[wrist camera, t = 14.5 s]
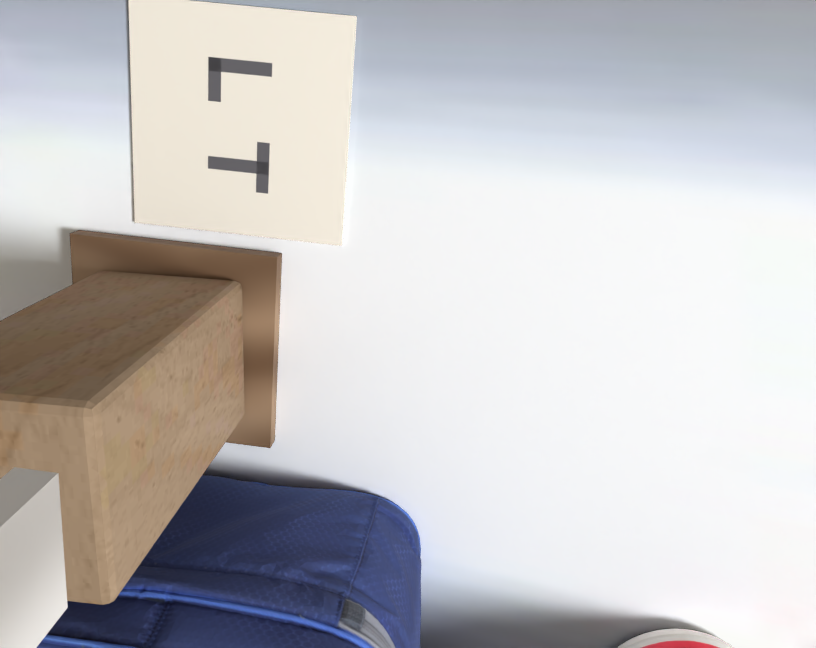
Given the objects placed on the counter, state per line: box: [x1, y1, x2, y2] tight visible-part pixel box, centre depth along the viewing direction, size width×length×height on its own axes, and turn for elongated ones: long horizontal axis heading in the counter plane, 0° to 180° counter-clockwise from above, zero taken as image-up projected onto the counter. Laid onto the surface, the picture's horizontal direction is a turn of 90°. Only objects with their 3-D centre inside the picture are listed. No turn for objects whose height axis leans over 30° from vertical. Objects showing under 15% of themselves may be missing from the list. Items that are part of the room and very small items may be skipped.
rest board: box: [70, 230, 282, 448], centre depth 51 cm, size 14×14×1 cm
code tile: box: [128, 0, 357, 246], centre depth 46 cm, size 14×14×1 cm
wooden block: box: [0, 271, 245, 605], centre depth 41 cm, size 10×10×20 cm
